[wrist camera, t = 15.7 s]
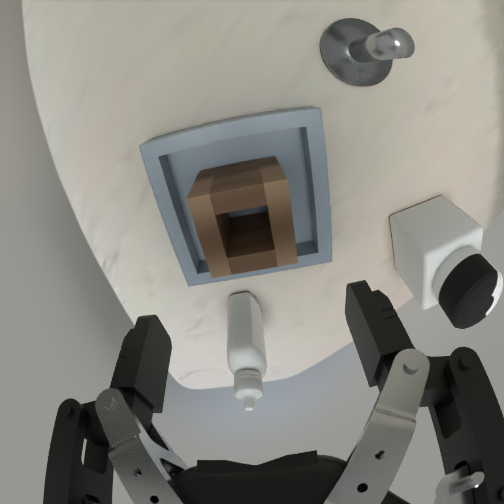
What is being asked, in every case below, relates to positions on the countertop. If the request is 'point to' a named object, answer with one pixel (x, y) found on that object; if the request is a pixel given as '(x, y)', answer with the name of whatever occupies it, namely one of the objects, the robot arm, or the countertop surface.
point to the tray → (238, 150)
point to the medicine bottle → (445, 261)
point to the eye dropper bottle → (246, 347)
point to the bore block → (243, 217)
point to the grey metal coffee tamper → (363, 51)
